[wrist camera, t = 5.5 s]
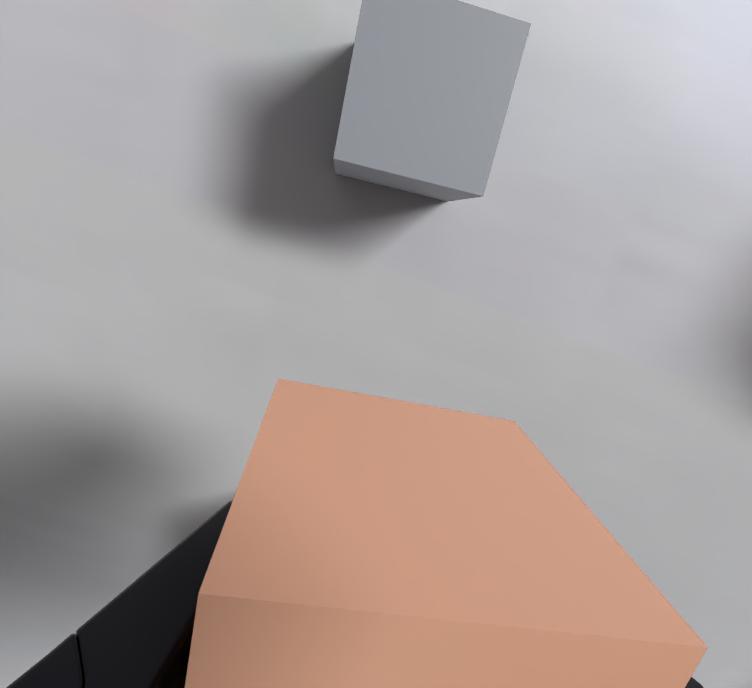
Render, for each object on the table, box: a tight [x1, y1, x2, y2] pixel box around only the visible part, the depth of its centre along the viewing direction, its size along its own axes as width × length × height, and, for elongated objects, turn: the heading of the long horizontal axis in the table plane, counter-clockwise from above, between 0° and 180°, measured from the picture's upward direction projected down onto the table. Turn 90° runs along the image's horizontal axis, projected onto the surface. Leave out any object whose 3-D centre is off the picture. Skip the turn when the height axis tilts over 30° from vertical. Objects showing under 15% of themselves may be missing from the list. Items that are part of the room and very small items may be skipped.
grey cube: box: [333, 0, 531, 202], centre depth 15 cm, size 5×5×5 cm
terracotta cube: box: [185, 379, 708, 688], centre depth 7 cm, size 5×5×5 cm
